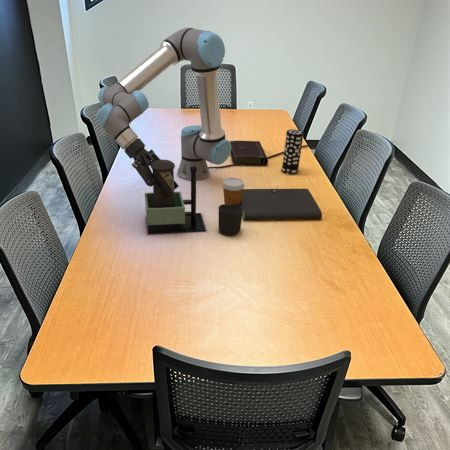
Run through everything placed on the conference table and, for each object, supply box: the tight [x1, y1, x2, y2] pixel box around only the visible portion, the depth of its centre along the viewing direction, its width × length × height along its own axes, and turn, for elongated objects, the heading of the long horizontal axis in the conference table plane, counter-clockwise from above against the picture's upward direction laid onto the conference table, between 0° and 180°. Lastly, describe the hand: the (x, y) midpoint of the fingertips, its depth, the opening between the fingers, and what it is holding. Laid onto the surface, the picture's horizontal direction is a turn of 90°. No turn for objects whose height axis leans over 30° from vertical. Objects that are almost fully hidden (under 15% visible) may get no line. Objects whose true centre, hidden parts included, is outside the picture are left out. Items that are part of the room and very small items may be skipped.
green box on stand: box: [144, 165, 207, 235], centre depth 178 cm, size 23×15×24 cm, turn 101°
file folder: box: [240, 188, 323, 221], centre depth 200 cm, size 33×4×24 cm
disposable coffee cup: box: [221, 177, 245, 205], centre depth 196 cm, size 10×10×12 cm
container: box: [149, 159, 176, 208], centre depth 175 cm, size 9×9×20 cm
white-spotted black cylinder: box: [281, 128, 305, 176], centre depth 229 cm, size 8×8×20 cm
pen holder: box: [218, 203, 243, 237], centre depth 180 cm, size 9×9×10 cm
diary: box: [228, 140, 269, 167], centre depth 247 cm, size 19×25×5 cm
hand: (171, 192), depth 175 cm, fingers closed on container, 8 cm apart
